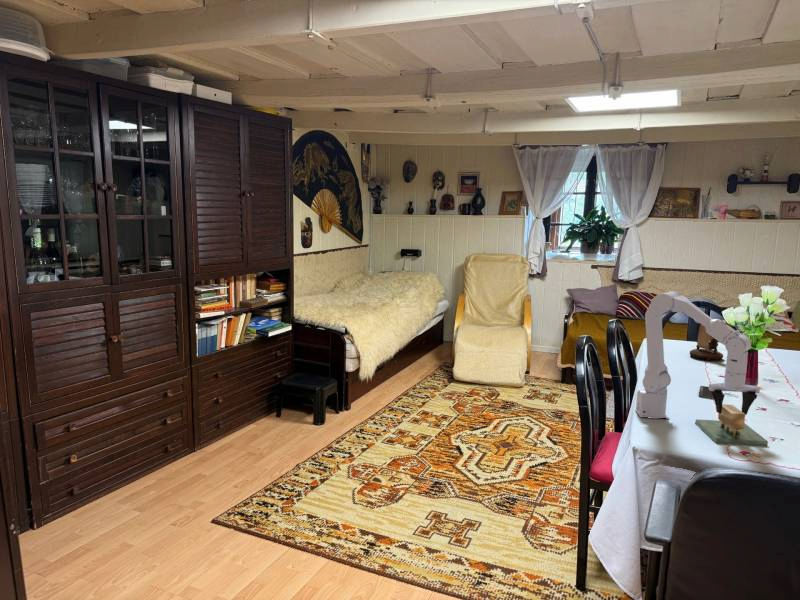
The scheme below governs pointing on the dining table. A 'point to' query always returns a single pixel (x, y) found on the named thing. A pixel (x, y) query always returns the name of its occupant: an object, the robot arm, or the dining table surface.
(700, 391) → the phone
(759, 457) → the dining table surface
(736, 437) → the green slab
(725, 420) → the oak block
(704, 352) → the brown wooden ornament
